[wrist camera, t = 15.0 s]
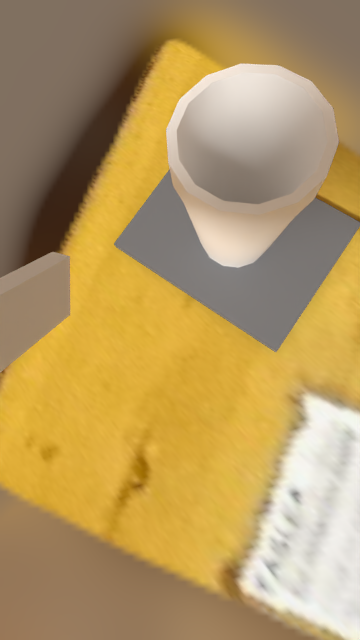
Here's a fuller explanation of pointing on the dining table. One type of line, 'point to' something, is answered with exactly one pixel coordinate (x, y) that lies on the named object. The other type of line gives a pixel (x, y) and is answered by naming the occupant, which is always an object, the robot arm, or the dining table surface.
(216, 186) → the foam cup
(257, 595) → the dining table surface
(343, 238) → the rubber mat
